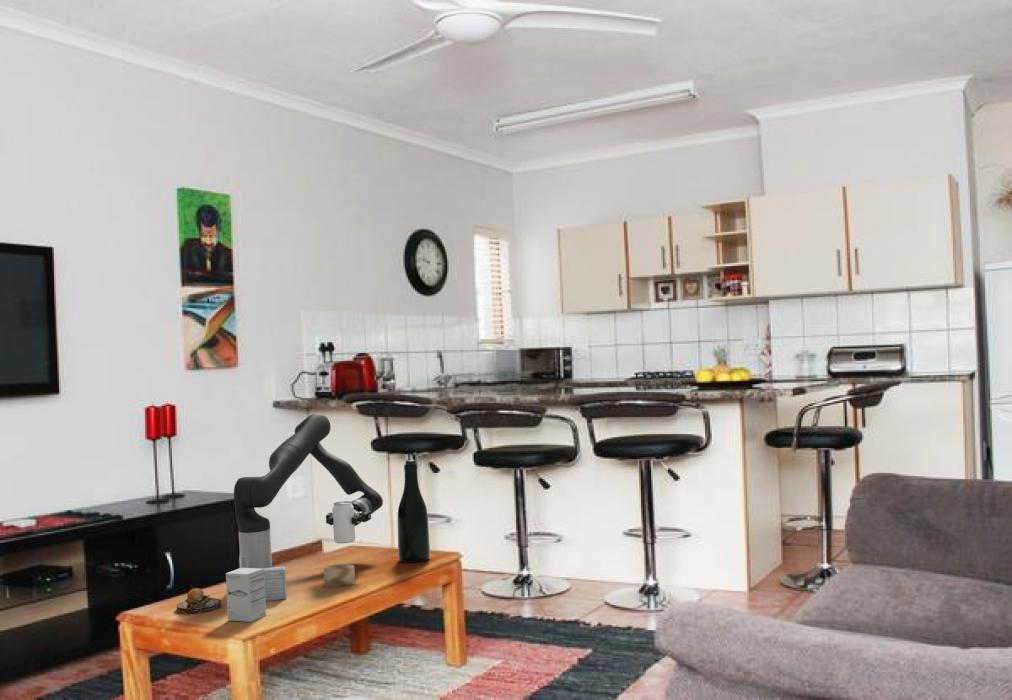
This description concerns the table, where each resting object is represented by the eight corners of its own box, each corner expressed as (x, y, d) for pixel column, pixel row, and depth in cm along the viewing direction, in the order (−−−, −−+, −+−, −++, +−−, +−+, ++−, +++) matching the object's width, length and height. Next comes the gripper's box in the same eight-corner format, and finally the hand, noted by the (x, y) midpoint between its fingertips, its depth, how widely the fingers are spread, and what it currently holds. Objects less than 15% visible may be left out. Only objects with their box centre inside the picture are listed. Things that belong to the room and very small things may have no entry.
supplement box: (226, 621, 251) (224, 573, 251) (244, 613, 258) (241, 566, 258) (250, 622, 248) (248, 573, 248) (267, 615, 255) (264, 567, 255)
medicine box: (287, 596, 276) (285, 565, 276) (286, 599, 271) (284, 569, 271) (258, 598, 274) (257, 568, 275) (257, 602, 270) (256, 571, 270)
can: (357, 539, 299) (355, 500, 299) (352, 543, 293) (350, 503, 293) (337, 539, 300) (335, 501, 300) (331, 543, 293) (329, 504, 294)
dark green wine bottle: (406, 556, 324) (402, 458, 324) (435, 557, 321) (431, 458, 321) (393, 562, 314) (389, 461, 314) (422, 563, 311) (418, 461, 311)
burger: (229, 606, 267) (228, 580, 268) (193, 617, 258) (191, 589, 258) (204, 602, 275) (202, 576, 275) (167, 611, 265) (166, 585, 266)
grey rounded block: (327, 589, 282) (327, 572, 282) (322, 583, 291) (321, 566, 291) (357, 585, 286) (357, 568, 286) (351, 579, 294) (350, 562, 294)
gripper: (333, 501, 311) (318, 510, 295) (376, 500, 310) (364, 508, 293) (334, 524, 311) (319, 534, 295) (377, 523, 310) (365, 532, 293)
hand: (341, 521), depth 294 cm, fingers closed on can, 6 cm apart
